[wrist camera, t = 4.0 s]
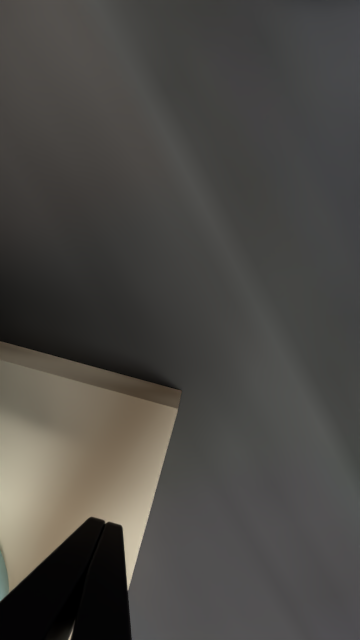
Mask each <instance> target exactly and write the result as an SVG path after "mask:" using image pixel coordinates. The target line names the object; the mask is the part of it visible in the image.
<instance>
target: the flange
mask: <svg viewBox="0 0 360 640" xmlns="http://www.w3.org/2000/svg"><path fill="white" fill-rule="evenodd" d="M8 593H9V583H8V574H7V570H6V566H5V562H4V558H3V556H2V553H1V551H0V601H1V600H2V599H3V598H4V597H5V596H6V595H7V594H8Z"/></svg>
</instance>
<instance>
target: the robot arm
mask: <svg viewBox="0 0 360 640" xmlns="http://www.w3.org/2000/svg"><path fill="white" fill-rule="evenodd" d="M72 630H73V631H72ZM71 632H72V636H71V640H132V638H131V625H130V613H129V600H128V588H127V575H126V562H125V550H124V537H123V527H122V526H121V525H120V524H116V523H113V522H107V523H106V522H105V521H104V520H102V519H99V518H96V517H89V518H88V519H87V520H86V521H85V522H84V523H83V524H82V525H80V526H79V527H78V528H77V529H76V530H75V531H74V532H73V533H72V534H71V535H70V536H69V537H68V538H67V539H66V540H65V541H63V542H62V543H61V544H60V545H59V546H58V547H57V548H56V549H55V550H54V551H53V552H52V553H51V554H50V555H49V556H48V557H47V558H45V559H44V560H43V561H42V562H41V563H40V564H39V565H38V566H37V567H36V568H35V569H34V570H33V571H32V572H31V573H30V574H28V575H27V576H26V577H25V578H24V579H23V580H22V581H21V582H20V583H19V584H18V585H17V586H16V587H15V588H14V589H13V590H12V591H10V592H9V593H8V594H7V595H6V596H5V597H4V598H3V599H2V600H1V601H0V640H68V639H69V637H70V635H71Z"/></svg>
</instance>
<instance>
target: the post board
mask: <svg viewBox="0 0 360 640" xmlns="http://www.w3.org/2000/svg"><path fill="white" fill-rule="evenodd" d="M181 393H182V391H180V390H177V389H173V388H169V387H166V386H162V385H158V384H155V383H151V382H148V381H144V380H140V379H137V378H133V377H129V376H126V375H122V374H118V373H115V372H111V371H107V370H104V369H100V368H96V367H93V366H89V365H86V364H82V363H78V362H75V361H71V360H67V359H64V358H60V357H56V356H53V355H49V354H45V353H42V352H38V351H34V350H31V349H27V348H24V347H20V346H16V345H13V344H9V343H5V342H2V341H0V551H1V553H2V556H3V558H4V562H5V566H6V570H7V574H8V583H9V592H10V591H12V590H13V589H14V588H15V587H16V586H17V585H18V584H19V583H20V582H21V581H22V580H23V579H24V578H25V577H26V576H27V575H28V574H30V573H31V572H32V571H33V570H34V569H35V568H36V567H37V566H38V565H39V564H40V563H41V562H42V561H43V560H44V559H45V558H47V557H48V556H49V555H50V554H51V553H52V552H53V551H54V550H55V549H56V548H57V547H58V546H59V545H60V544H61V543H62V542H63V541H65V540H66V539H67V538H68V537H69V536H70V535H71V534H72V533H73V532H74V531H75V530H76V529H77V528H78V527H79V526H80V525H82V524H83V523H84V522H85V521H86V520H87V519H88V518H89V517H96V518H99V519H102V520H104V521H105V522H106V523H107V522H113V523H116V524H120V525H121V526H122V527H123V537H124V550H125V562H126V575H127V588H128V589H129V585H130V581H131V578H132V574H133V570H134V567H135V563H136V560H137V556H138V552H139V549H140V545H141V542H142V538H143V534H144V531H145V527H146V523H147V520H148V516H149V513H150V509H151V505H152V502H153V498H154V494H155V491H156V487H157V484H158V480H159V476H160V473H161V469H162V465H163V462H164V458H165V455H166V451H167V447H168V444H169V440H170V436H171V433H172V429H173V426H174V422H175V418H176V415H177V411H178V407H179V402H180V397H181ZM72 631H73V630H72ZM71 636H72V632H71V635H70V637H69V639H68V640H71Z"/></svg>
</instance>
